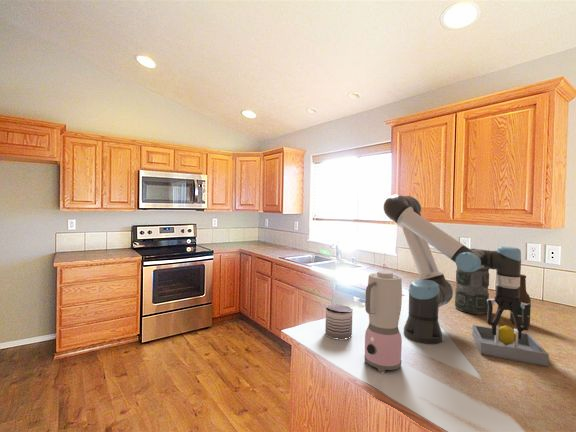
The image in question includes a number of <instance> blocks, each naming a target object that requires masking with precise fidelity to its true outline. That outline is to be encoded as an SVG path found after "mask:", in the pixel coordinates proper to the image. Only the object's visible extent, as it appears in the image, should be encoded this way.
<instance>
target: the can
mask: <svg viewBox="0 0 576 432" xmlns="http://www.w3.org/2000/svg"><path fill="white" fill-rule="evenodd" d="M353 310H354V308H351V307H349V306H347V305H342V304H334V303H333V304H330V303H328V304H326V305H325V328H324V329H325V332H326V333H325V335H326V334H327V335H328V336H330V337H332V338H338V339H345V338H349V337H350V336H351V335H352V336H353ZM327 335H326V336H327ZM328 336H327V337H328ZM352 336H351V337H352ZM330 337H329V338H330ZM351 337H350V338H351ZM332 338H331V339H332ZM350 338H349V339H350Z"/></svg>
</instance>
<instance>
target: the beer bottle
mask: <svg viewBox="0 0 576 432" xmlns="http://www.w3.org/2000/svg"><path fill="white" fill-rule="evenodd" d="M526 278H527V276H526V275H525V274H521V273H520V287H518V288H519V289H520V301H521V302H522V303H526V304H528V305H529V309H528V327H529V326H530V325H531V308H532V307H531V305H532V303H531V301H532V300H531V299H532V298H531V297H530V295H529V294H528V292H527V285H526V284H527V283H526V281H527V280H526ZM516 311H517V315H518V318H519V322H520V325H521V326H522V308H521V305H519V306H518V307H517V308H516ZM509 312H510V315H509V318H510V319H509V320H510V322H511V324H514V325H515V322H514V318H513V315H512V312H511V311H509Z"/></svg>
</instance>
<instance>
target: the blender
mask: <svg viewBox="0 0 576 432" xmlns="http://www.w3.org/2000/svg"><path fill="white" fill-rule="evenodd" d="M367 279H368V280H367V281H368V282H367V286H366V287H365V312H366V313H367V315H368V320H369V323H368V325H367V328H366V330H365V334H364V364H368V365H370V366H371V367H373V368H376V369H377V372H378V371H380V372H379V373H382V372H385V373H386V371H387V370H388V371H390V370H391V371H392V370H397V369H399V368H401V366H402V347H403V346H402V342H403V341H402V340H403V339H402V334H401V332H400V330H399V322H400V318H401V313H402V304H403V303H402V302H403V299H402V297H403V288H402V287H403V286H402V285H403V284H402V282H403V281H402V277H401V276H399V275H396V274H394V273H393V272H392V271H388V270H378V271H377V272H375V273H370V274H368V278H367Z"/></svg>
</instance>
